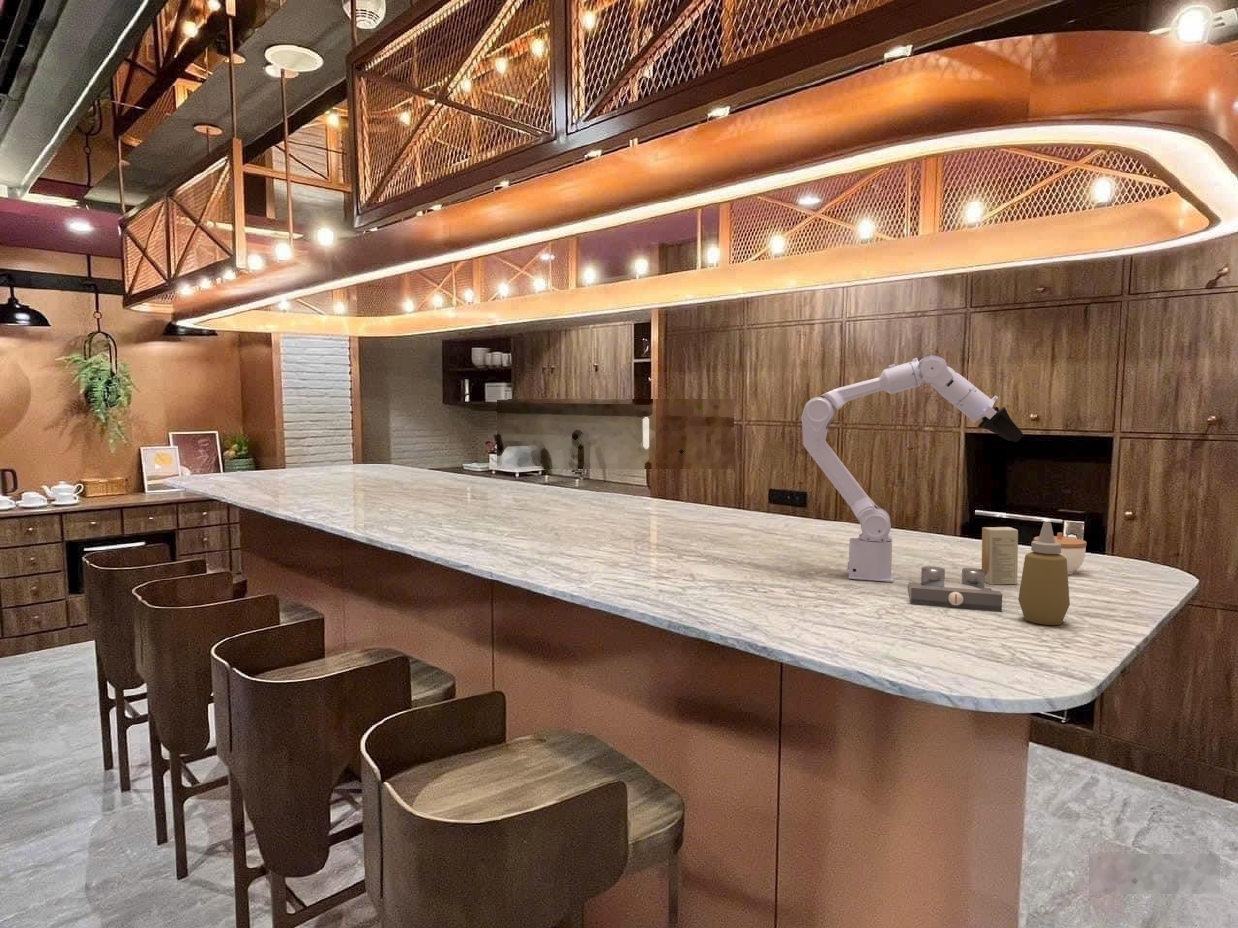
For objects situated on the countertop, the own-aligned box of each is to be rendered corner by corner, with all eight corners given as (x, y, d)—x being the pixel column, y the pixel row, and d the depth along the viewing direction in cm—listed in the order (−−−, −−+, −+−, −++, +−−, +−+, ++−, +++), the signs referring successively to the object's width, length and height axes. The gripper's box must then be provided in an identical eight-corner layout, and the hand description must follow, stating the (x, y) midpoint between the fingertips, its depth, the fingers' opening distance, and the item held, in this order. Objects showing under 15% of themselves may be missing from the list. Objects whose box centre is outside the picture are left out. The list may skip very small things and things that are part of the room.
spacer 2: (962, 589, 153) (963, 571, 153) (960, 585, 157) (961, 567, 157) (985, 591, 152) (986, 573, 151) (982, 586, 156) (983, 568, 156)
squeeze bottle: (1025, 612, 136) (1029, 518, 134) (1074, 621, 130) (1079, 522, 129) (1011, 621, 130) (1015, 522, 129) (1062, 630, 124) (1066, 527, 123)
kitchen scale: (910, 604, 141) (911, 588, 141) (908, 586, 156) (908, 572, 156) (1002, 612, 136) (1002, 595, 136) (990, 593, 150) (991, 577, 150)
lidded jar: (1022, 567, 176) (1023, 529, 175) (1062, 566, 177) (1064, 528, 176) (1053, 577, 165) (1055, 537, 164) (1096, 576, 166) (1098, 536, 165)
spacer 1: (921, 589, 147) (922, 569, 147) (920, 584, 151) (920, 565, 151) (945, 591, 145) (945, 571, 145) (943, 586, 150) (943, 567, 149)
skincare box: (1009, 580, 162) (1011, 526, 161) (1017, 584, 158) (1020, 529, 157) (979, 579, 162) (981, 526, 162) (987, 584, 158) (989, 529, 157)
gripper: (983, 380, 147) (1038, 424, 145) (974, 383, 161) (1024, 423, 158) (957, 406, 149) (1011, 450, 147) (951, 407, 163) (1000, 447, 160)
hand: (1016, 438), depth 152 cm, fingers open, 7 cm apart
